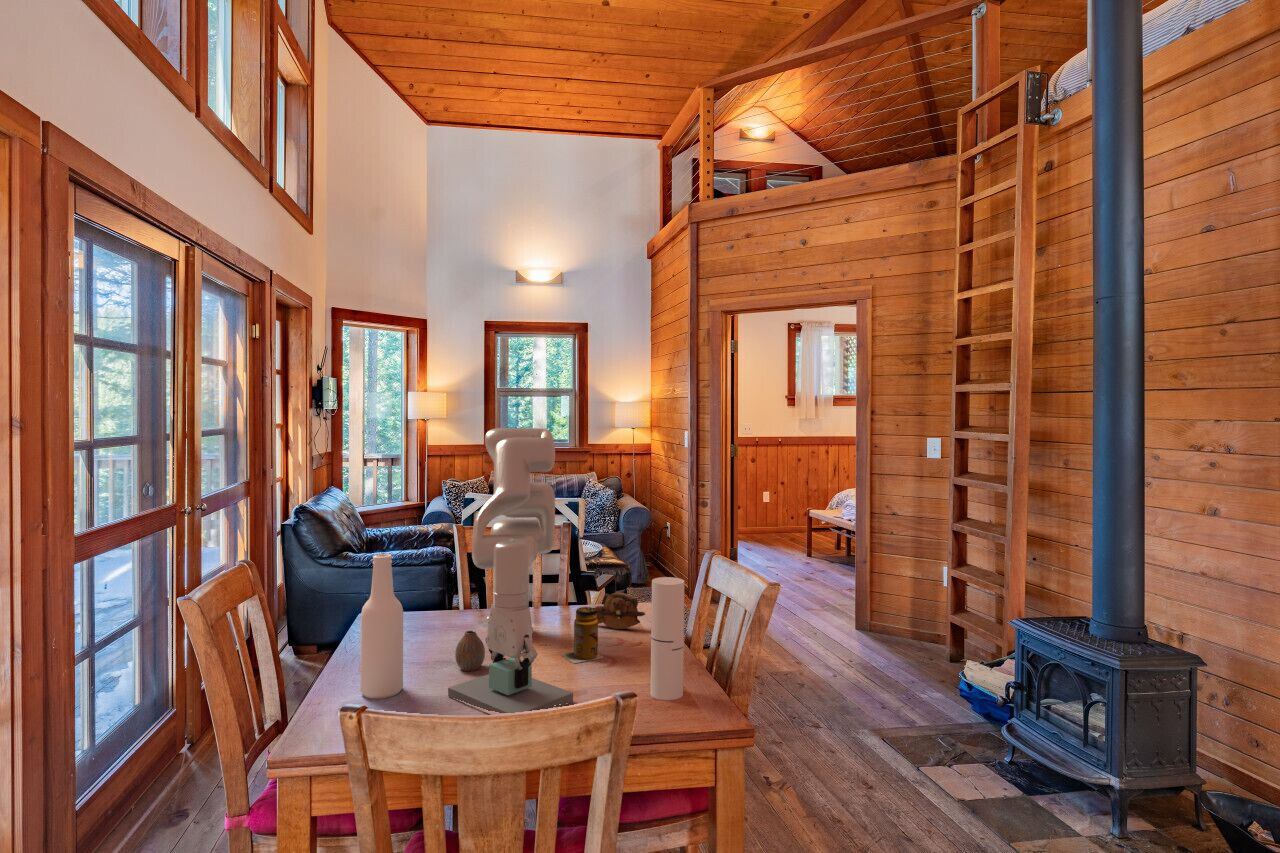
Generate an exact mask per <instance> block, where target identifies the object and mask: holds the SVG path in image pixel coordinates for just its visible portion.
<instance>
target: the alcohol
mask: <svg viewBox="0 0 1280 853" xmlns="http://www.w3.org/2000/svg"><path fill="white" fill-rule="evenodd" d="M392 559H393V555H392V554H390V553H381V554H380V553H379V554H375V555H373V556H372V560H373V561H372V565H373V566H372V568H373V569H372V575H371V576H372V578H371V588H370V589H371V591H370V596H369V598H368V600H366V602H364V605H362V608H361V614H360V668H359V669H360V676H359V678H360V681H359V682H360V689H359V690H360V692H361V695H362V696H363V697H365V698H367V699H371V700H380V699H388V698H391V697H394V696H396V695H398V694H399V693H401V690H402V689H403V687H404V609H403V605H402V603H401V602H400V601H399V599H398V598H397V597H396V596H395V592H394V581H393V580H394V579H393V569H392V568H393V567H392V565H393V560H392Z"/></svg>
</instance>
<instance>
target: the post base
mask: <svg viewBox="0 0 1280 853" xmlns="http://www.w3.org/2000/svg"><path fill="white" fill-rule="evenodd" d="M448 696H449V697H448ZM447 697H448V698H450V697H452V698H455V699H458V700H461V701H464V702H466V703H469V704H471V705H474V706H477V707H480V708H483V709H486V710H488V711H495V712H499V713H515V712H524V711H532V710H540V709H548V708H553V707H559V706H562V707H564V706H567V705H569V704H571V703H572V704H573V703H574V693H573V692H572V691H569V690H567V689H564V688H561V687H558V686H556V685H553V684H550V683H548V682H545V681H541V680H539V679H536V678H534V677H532V687H530V688H527V689H524V690H521V691H519V692H516V693H513V694H510V695H506V694H504V693H501V692H499V691H496V690H494V689H491V688H489V673H488V674H485V675H483V676H479V677H476V678H473V679H470V680H468V681H464V682H462V683H458V684H455V685H452V686H449V687H447ZM452 698H451V699H452ZM566 703H568V704H566ZM559 704H561V705H559ZM554 705H556V706H554Z"/></svg>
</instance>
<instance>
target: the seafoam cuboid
mask: <svg viewBox="0 0 1280 853" xmlns="http://www.w3.org/2000/svg"><path fill="white" fill-rule="evenodd" d="M523 660H524V659H523ZM523 660H522V659H521V662H522V661H523ZM532 666H533V663H532V664H531V666H530V667H528V685H527V686H524V687H521V688H518V689H517V688H515V669H517V665H516V662H515V658H512V657H508V658H506V659H504V660H501V661H498V662H495V663H493V662H491V663H489V664H488V674H489V688H491V689H494V690H496V691H499V692H501V693H504V694H506V695H510V694H513V693H516V692H519V691H521V690H524V689H527V688H530V687H532V678H533V677H532V672H533V671H532V670H533V667H532Z"/></svg>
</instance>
